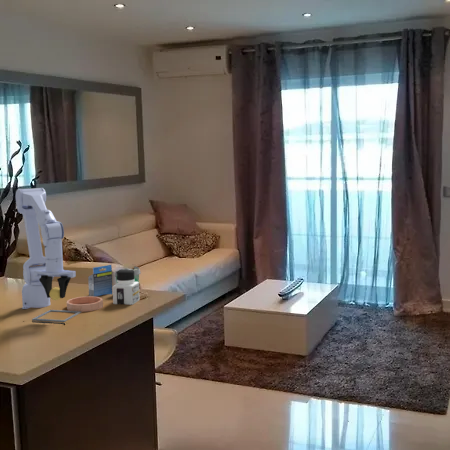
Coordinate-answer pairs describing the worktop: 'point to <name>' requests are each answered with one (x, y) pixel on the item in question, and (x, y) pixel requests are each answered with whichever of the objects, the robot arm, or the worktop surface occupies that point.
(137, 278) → the food container
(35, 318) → the tray
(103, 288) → the label tape box
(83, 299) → the bowl
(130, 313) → the worktop surface
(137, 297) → the container
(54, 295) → the ball
